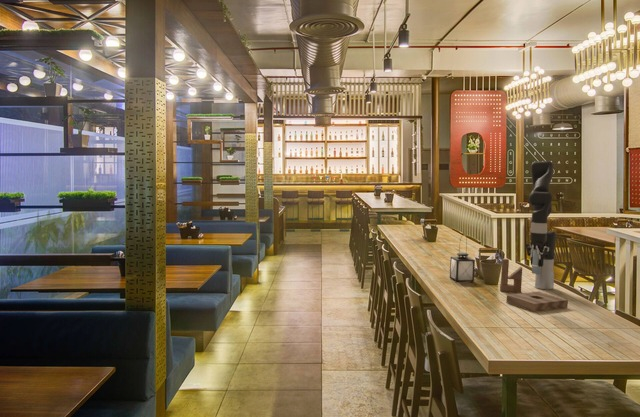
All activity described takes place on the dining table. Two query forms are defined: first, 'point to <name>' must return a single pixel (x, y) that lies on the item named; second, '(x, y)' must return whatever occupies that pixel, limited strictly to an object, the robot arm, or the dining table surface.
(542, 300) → the socket block
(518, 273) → the brown wedge-headed part
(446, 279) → the dining table surface
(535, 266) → the peg
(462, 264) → the lantern
